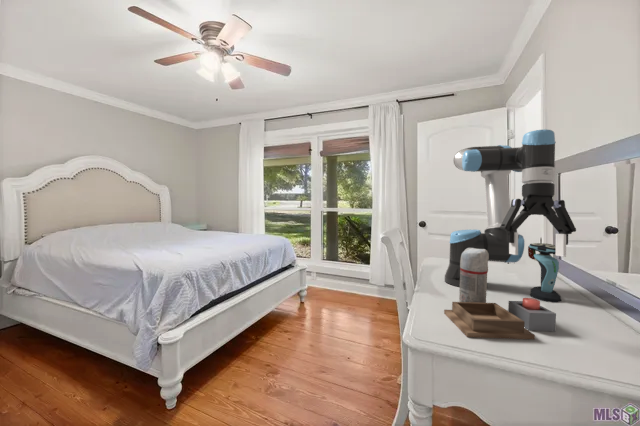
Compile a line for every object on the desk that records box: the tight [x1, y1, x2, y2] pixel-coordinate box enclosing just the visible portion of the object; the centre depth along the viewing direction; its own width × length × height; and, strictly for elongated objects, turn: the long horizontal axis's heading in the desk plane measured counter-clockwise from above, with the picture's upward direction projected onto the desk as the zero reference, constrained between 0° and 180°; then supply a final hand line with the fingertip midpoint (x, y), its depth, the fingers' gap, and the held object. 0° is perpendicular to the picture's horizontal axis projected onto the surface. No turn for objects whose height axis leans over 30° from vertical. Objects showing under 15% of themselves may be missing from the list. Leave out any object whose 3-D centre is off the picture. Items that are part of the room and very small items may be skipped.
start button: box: [522, 297, 541, 310], centre depth 79 cm, size 4×4×2 cm
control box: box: [507, 300, 557, 332], centre depth 79 cm, size 9×7×5 cm
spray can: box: [458, 248, 489, 303], centre depth 90 cm, size 8×8×20 cm
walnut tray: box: [443, 301, 536, 340], centre depth 78 cm, size 15×17×4 cm
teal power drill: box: [527, 242, 562, 303], centre depth 101 cm, size 9×12×20 cm
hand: (536, 255), depth 79 cm, fingers open, 13 cm apart
